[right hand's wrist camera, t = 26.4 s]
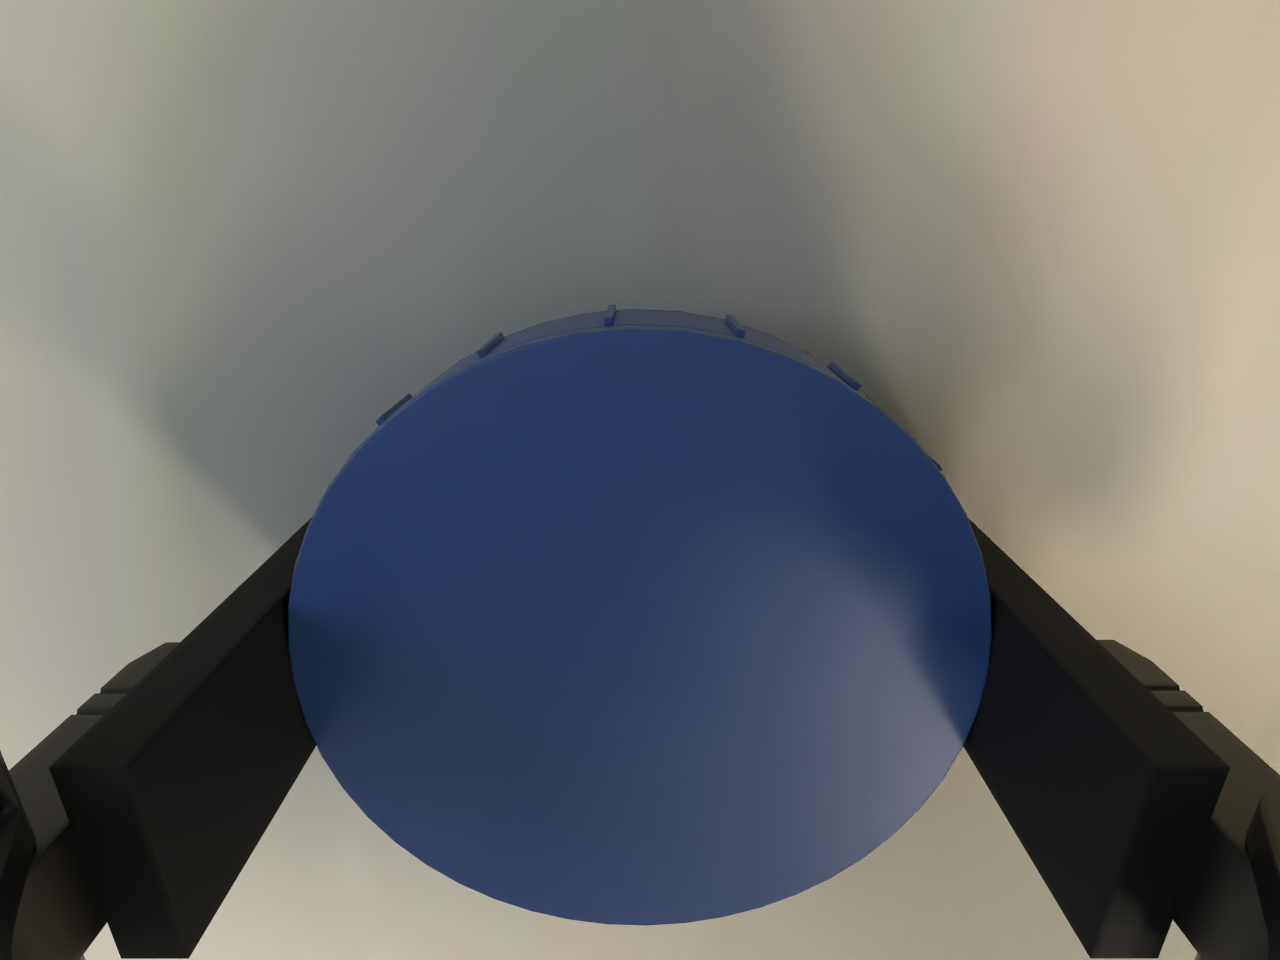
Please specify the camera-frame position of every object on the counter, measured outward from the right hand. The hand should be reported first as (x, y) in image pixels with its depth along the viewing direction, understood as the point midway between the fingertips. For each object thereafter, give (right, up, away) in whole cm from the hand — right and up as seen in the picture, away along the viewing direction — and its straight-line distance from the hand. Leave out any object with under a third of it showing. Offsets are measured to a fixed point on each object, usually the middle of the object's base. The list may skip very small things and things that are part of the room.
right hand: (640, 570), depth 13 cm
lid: (0, -1, -3) cm, 3 cm away
